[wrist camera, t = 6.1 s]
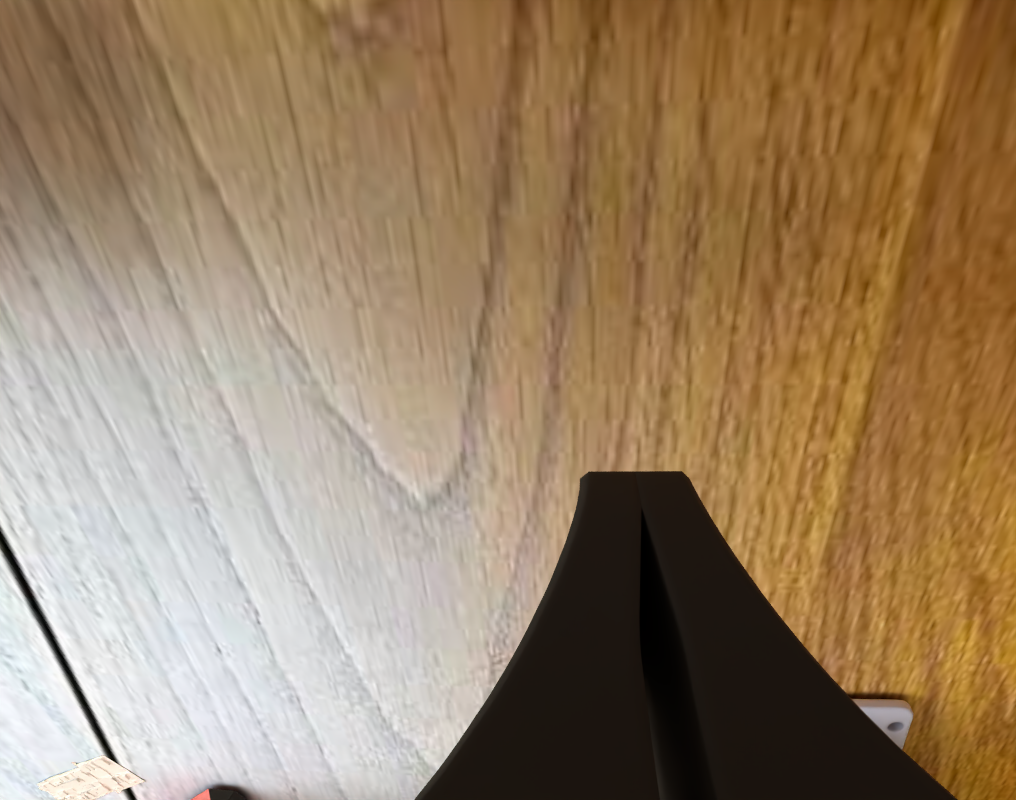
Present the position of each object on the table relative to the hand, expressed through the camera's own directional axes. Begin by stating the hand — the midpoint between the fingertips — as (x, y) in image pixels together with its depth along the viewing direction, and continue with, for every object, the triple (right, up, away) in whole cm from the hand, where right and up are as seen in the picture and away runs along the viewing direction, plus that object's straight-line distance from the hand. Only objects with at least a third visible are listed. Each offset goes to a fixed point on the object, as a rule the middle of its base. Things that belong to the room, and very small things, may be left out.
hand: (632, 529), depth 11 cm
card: (-21, -15, +24) cm, 35 cm away
